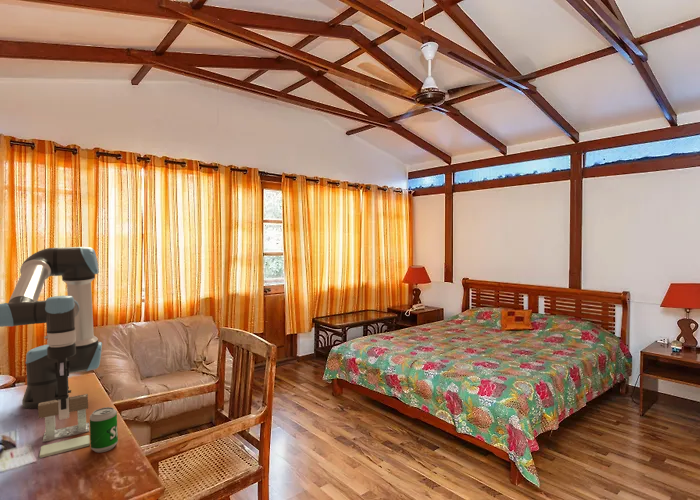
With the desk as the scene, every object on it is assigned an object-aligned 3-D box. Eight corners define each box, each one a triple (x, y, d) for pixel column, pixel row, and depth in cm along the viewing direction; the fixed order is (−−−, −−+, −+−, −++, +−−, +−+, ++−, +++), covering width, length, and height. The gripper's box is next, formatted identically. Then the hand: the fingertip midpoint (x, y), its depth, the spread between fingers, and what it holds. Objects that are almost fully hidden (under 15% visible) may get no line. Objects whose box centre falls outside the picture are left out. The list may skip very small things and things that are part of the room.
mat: (41, 448, 131) (41, 446, 131) (89, 437, 138) (89, 434, 138) (39, 458, 125) (39, 455, 125) (89, 445, 132) (89, 443, 132)
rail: (38, 418, 126) (38, 405, 126) (39, 415, 129) (38, 403, 128) (88, 408, 133) (87, 396, 133) (88, 405, 136) (87, 393, 136)
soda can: (105, 454, 126) (103, 416, 126) (84, 452, 128) (83, 415, 127) (123, 442, 133) (122, 406, 133) (103, 441, 135) (102, 405, 135)
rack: (44, 434, 141) (43, 404, 140) (89, 423, 148) (87, 395, 148) (42, 442, 135) (41, 411, 135) (89, 431, 142) (88, 401, 142)
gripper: (48, 341, 135) (51, 411, 136) (45, 351, 122) (48, 428, 122) (76, 337, 139) (78, 405, 140) (75, 347, 126) (78, 422, 126)
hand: (64, 416), depth 131 cm, fingers closed on rail, 3 cm apart
